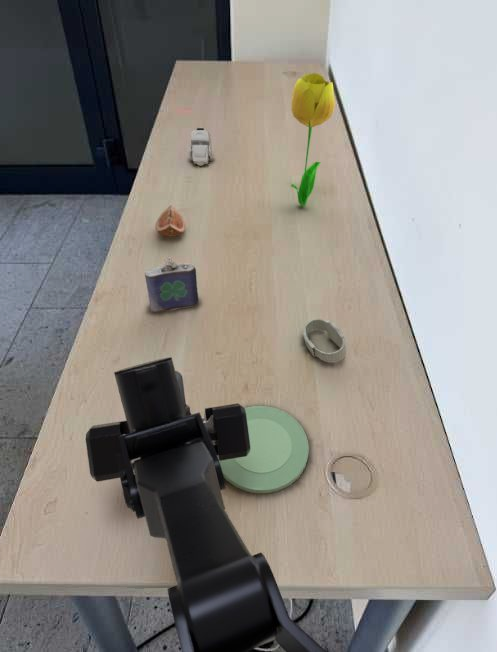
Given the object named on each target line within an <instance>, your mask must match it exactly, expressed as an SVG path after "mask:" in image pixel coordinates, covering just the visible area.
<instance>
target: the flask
mask: <svg viewBox="0 0 497 652" xmlns="http://www.w3.org/2000/svg"><path fill="white" fill-rule="evenodd" d="M164 261H165V264H164V265H163V266H158V267H154V268H153V267H152V268H150V269H147V270H146V271H145V273H144V278H145V283H146V289H147V297H148V301H149V307H150V310H151V312H152V313H159V314H160V313H164V312H173V311H176V310H178V309H181V310H182V309H184V308H186V309H187V308H195V307H197V305H199V293H198V281H197V280H198V279H197V269H196V267H195V265H194V264H192V263H187V262H186V263H185V262H184V263H176V262H174V261H173V260H172V257H167V258H165V259H164ZM172 261H173V262H172Z"/></svg>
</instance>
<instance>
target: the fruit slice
mask: <svg viewBox="0 0 497 652" xmlns="http://www.w3.org/2000/svg"><path fill="white" fill-rule="evenodd" d="M186 228H187V227H186V222H185V220H184V219H183V217H182V215H181V214H180V213H179V211H178V210H177V209H176V208H175V207H174V206H172V205H169V206H168V207H167V208H166V209H164V210H163V211H162V212H161V213H160V215H159V216H158V218H157V219H156V223H155V230H156V231H157V232H158V233H159V234H161V235H164V236H166V237H175V236H179V235H181V234H183V233H184V232H185V231H186Z"/></svg>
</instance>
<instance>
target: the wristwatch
mask: <svg viewBox="0 0 497 652" xmlns="http://www.w3.org/2000/svg"><path fill="white" fill-rule="evenodd" d="M316 330H318V331H320V330H321V331H324V332H326V333H327V335H328V336H329V338H330V339H331V341H332V342H333V343H334V344H336V346H337V347H339V349H338V350H336V351H333V352H325V351H322V350H320V349H318V348H317V347H316V346H315V344H314V343H313V342H312V341H311V340H309V334H310V333H311V332H314V331H316ZM302 335H303V340H304V344H305V346H306V348H307V350H309V352H310V354H311V355H312V356H313V357H314V358H315V357H317V358H318V359H320V360H321V361H324V362H326V363H336V362H340V361H341V360H342V359H344V358H345V356H346V354H347V353H346V352H347V351H346V343H345V337H344V335H343V332H342V331H341V329H340V328H339V327H338V326H337V325H336V324H335V323H333V322H332V321H331V320H327V319H323V318H314V319H311V320H309V321H308V322H307V323H306V324H304V326H303V329H302Z"/></svg>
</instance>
